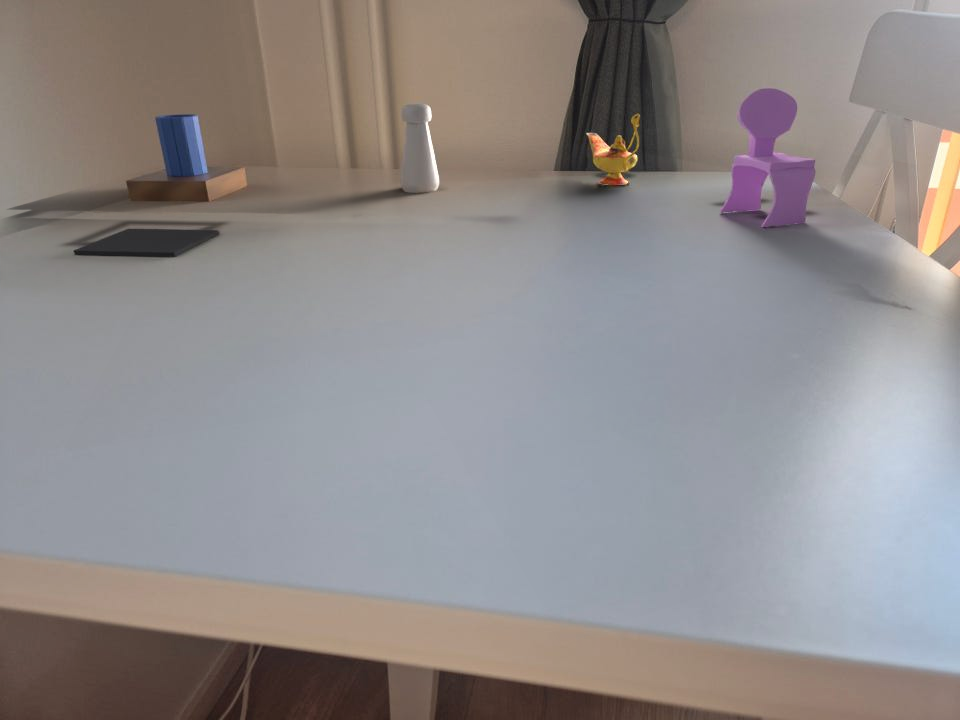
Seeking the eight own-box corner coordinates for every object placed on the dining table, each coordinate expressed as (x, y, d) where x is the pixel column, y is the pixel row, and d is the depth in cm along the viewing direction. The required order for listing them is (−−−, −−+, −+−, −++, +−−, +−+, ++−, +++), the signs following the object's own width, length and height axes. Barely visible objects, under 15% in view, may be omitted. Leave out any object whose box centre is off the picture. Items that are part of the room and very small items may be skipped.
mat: (74, 254, 75) (73, 250, 75) (128, 232, 84) (127, 228, 84) (174, 257, 73) (173, 252, 73) (219, 234, 82) (218, 230, 82)
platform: (132, 209, 97) (125, 180, 95) (177, 192, 108) (172, 166, 106) (210, 209, 95) (205, 181, 94) (248, 193, 106) (244, 167, 104)
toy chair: (758, 229, 80) (779, 92, 73) (712, 214, 87) (727, 89, 81) (815, 223, 82) (840, 89, 76) (765, 208, 89) (784, 86, 83)
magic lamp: (604, 171, 118) (608, 104, 113) (655, 190, 102) (662, 112, 98) (567, 174, 116) (570, 106, 112) (614, 193, 101) (619, 114, 96)
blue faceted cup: (159, 176, 98) (146, 118, 94) (180, 170, 103) (169, 114, 99) (195, 176, 97) (184, 117, 93) (214, 170, 102) (204, 114, 98)
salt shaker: (430, 202, 97) (425, 106, 92) (394, 200, 99) (387, 105, 93) (446, 194, 102) (442, 102, 97) (411, 192, 104) (406, 102, 98)
